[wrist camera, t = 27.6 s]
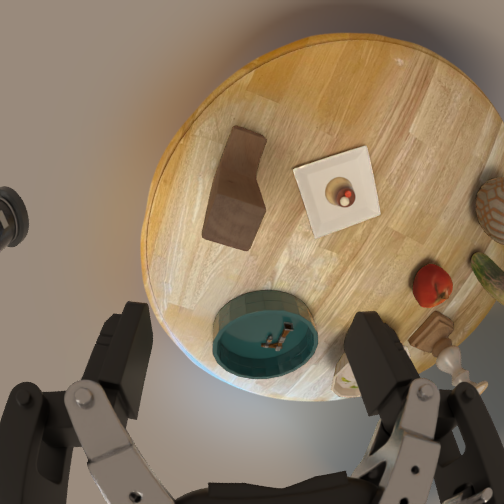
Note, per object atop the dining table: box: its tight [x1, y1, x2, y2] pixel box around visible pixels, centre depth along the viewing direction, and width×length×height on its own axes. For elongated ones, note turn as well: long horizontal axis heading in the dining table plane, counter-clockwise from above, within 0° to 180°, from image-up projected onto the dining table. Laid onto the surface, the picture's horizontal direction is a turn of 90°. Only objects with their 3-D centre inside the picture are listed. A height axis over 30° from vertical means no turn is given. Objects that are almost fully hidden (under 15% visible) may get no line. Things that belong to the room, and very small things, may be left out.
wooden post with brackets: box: [261, 322, 294, 351], centre depth 55 cm, size 2×8×4 cm
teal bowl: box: [213, 290, 318, 379], centre depth 52 cm, size 20×20×6 cm
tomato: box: [413, 264, 453, 308], centre depth 48 cm, size 9×9×8 cm
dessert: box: [293, 146, 380, 239], centre depth 39 cm, size 12×12×5 cm
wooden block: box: [202, 126, 267, 251], centre depth 30 cm, size 9×4×18 cm, turn 159°
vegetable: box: [471, 252, 504, 305], centre depth 42 cm, size 6×6×20 cm
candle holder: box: [408, 311, 488, 395], centre depth 51 cm, size 11×11×24 cm
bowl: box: [331, 345, 411, 397], centre depth 56 cm, size 19×19×10 cm
